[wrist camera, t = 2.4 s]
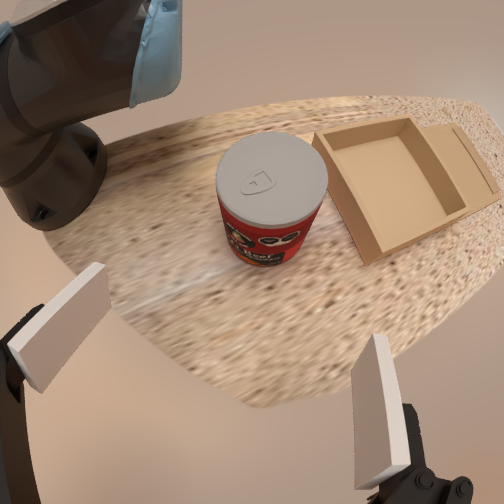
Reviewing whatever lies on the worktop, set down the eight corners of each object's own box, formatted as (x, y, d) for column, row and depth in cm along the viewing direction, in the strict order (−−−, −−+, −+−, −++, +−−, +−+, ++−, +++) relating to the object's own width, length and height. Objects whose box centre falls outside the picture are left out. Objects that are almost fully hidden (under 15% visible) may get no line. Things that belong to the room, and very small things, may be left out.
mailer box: (365, 265, 29) (382, 252, 25) (308, 155, 33) (315, 131, 28) (501, 198, 32) (517, 185, 28) (454, 124, 36) (467, 107, 31)
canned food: (211, 236, 30) (191, 180, 19) (262, 184, 32) (265, 115, 21) (270, 285, 28) (280, 250, 18) (318, 226, 30) (349, 169, 20)
